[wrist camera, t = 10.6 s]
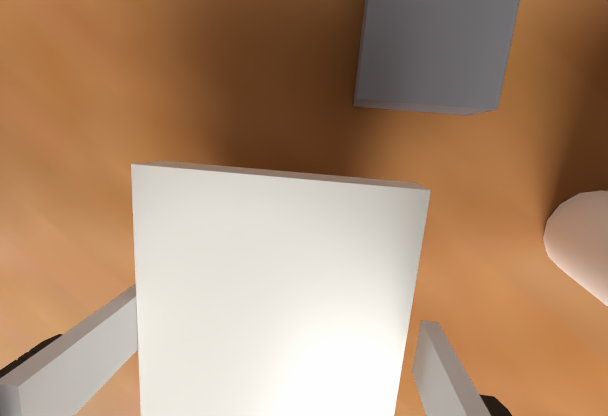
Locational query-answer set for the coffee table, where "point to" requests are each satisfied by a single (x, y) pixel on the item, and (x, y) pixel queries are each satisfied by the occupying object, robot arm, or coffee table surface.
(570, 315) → the coffee table surface
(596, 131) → the coffee table surface
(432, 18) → the stand
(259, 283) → the lid
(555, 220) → the foam cup
